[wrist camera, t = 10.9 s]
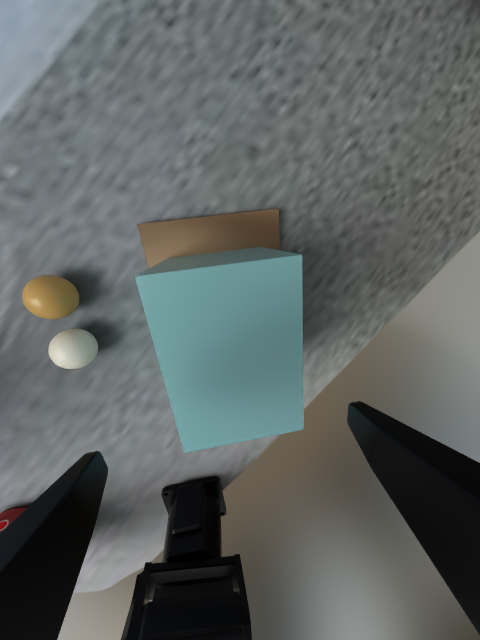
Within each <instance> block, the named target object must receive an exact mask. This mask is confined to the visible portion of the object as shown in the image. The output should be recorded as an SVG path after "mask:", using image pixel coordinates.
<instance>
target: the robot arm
mask: <svg viewBox="0 0 480 640" xmlns="http://www.w3.org/2000/svg"><path fill="white" fill-rule="evenodd" d="M347 421H348V425H349V427H350V429H351V431H352V433H353V435H354V437H355V439H356V440H357V442H358V444H359V446H360V448H361V450H362V451H363V454H364V455H365V457H366V459H367V461H368V463H369V465H370V467H371V468H372V470H373V472H374V473H375V475H376V476H377V478H378V479H379V481H380V483H381V484H382V486H383V487H384V489H385V490H386V492H387V493H388V495H389V496H390V498H391V499H392V501H393V502H394V504H395V506H396V507H397V509H398V510H399V512H400V513H401V515H402V516H403V518H404V519H405V521H406V522H407V524H408V526H409V527H410V529H411V530H412V532H413V533H414V534H415V536H416V538H417V539H418V541H419V543H420V544H421V546H422V547H423V549H424V550H425V552H426V553H427V555H428V556H429V558H430V559H431V561H432V562H433V564H434V566H435V567H436V568H437V570H438V572H439V573H440V575H441V576H442V578H443V579H444V581H445V583H446V584H447V586H448V587H449V589H450V590H451V592H452V593H453V595H454V596H455V598H456V599H457V601H458V602H459V604H460V605H461V607H462V609H463V610H464V611H465V613H466V615H467V616H468V618H469V619H470V621H471V622H472V624H473V626H474V627H475V629H476V630H477V632H478V633H479V635H480V463H479V462H476V461H475V460H473V459H471V458H469V457H467V456H465V455H463V454H461V453H459V452H457V451H456V450H454V449H452V448H450V447H448V446H446V445H444V444H442V443H440V442H438V441H436V440H434V439H432V438H430V437H429V436H427V435H425V434H423V433H421V432H419V431H417V430H415V429H413V428H411V427H409V426H407V425H405V424H404V423H402V422H400V421H398V420H396V419H394V418H392V417H390V416H388V415H386V414H384V413H382V412H380V411H378V410H377V409H374V408H373V407H371V406H368V405H367V404H365V403H363V402H360V401H357V402H352V403H350V404H349V406H348V417H347ZM107 475H108V467H107V465H106V463H105V460H104V458H103V456H102V454H101V452H99V451H95V452H90V453H86V454H85V455H83V456H82V457H81V458H80V459H79V460H78V461H77V462H76V463H75V464H74V465H73V466H71V467H70V468H69V469H68V470H67V471H66V472H65V473H64V474H63V475H62V476H61V477H60V478H59V479H58V480H56V481H55V482H54V483H53V484H52V485H51V486H50V487H49V488H48V489H47V490H46V491H45V492H44V493H43V494H41V495H40V496H39V497H38V498H37V499H36V500H35V501H34V502H33V503H32V504H31V505H30V506H29V507H28V508H26V509H25V510H24V511H23V512H22V513H21V514H20V515H19V516H18V517H17V518H16V519H15V520H14V521H13V522H11V523H10V524H9V525H8V526H7V527H6V528H5V529H4V530H3V531H2V532H1V533H0V640H57V638H58V635H59V632H60V629H61V626H62V623H63V620H64V617H65V615H66V612H67V609H68V605H69V602H70V600H71V597H72V594H73V591H74V588H75V585H76V582H77V579H78V576H79V573H80V570H81V567H82V564H83V561H84V558H85V555H86V552H87V549H88V546H89V543H90V540H91V537H92V534H93V531H94V527H95V524H96V520H97V516H98V512H99V508H100V504H101V500H102V495H103V491H104V487H105V483H106V479H107ZM161 495H162V498H163V501H164V503H165V506H166V509H167V511H168V514H169V517H168V524H167V531H166V539H165V546H164V553H163V560H162V563H152V562H147V563H145V567H144V571H143V572H142V573H140V574H139V575H137V579H136V584H135V589H134V593H133V598H132V602H131V606H130V610H129V613H128V617H127V620H126V623H125V627H124V630H123V634H122V638H121V640H252V634H251V622H250V613H249V607H248V601H247V595H246V589H245V583H244V577H243V571H242V565H241V559H240V554H235V555H234V556H227V557H223V556H222V535H221V516H224V515H226V506H225V502H224V497H223V492H222V488H221V483H220V479H219V478H218V477H213V478H208V479H204V480H199V481H194V482H190V483H185V484H180V485H175V486H171V487H166V488H164V489H163V490H162V494H161ZM149 600H153V601H151V602H149Z"/></svg>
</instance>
